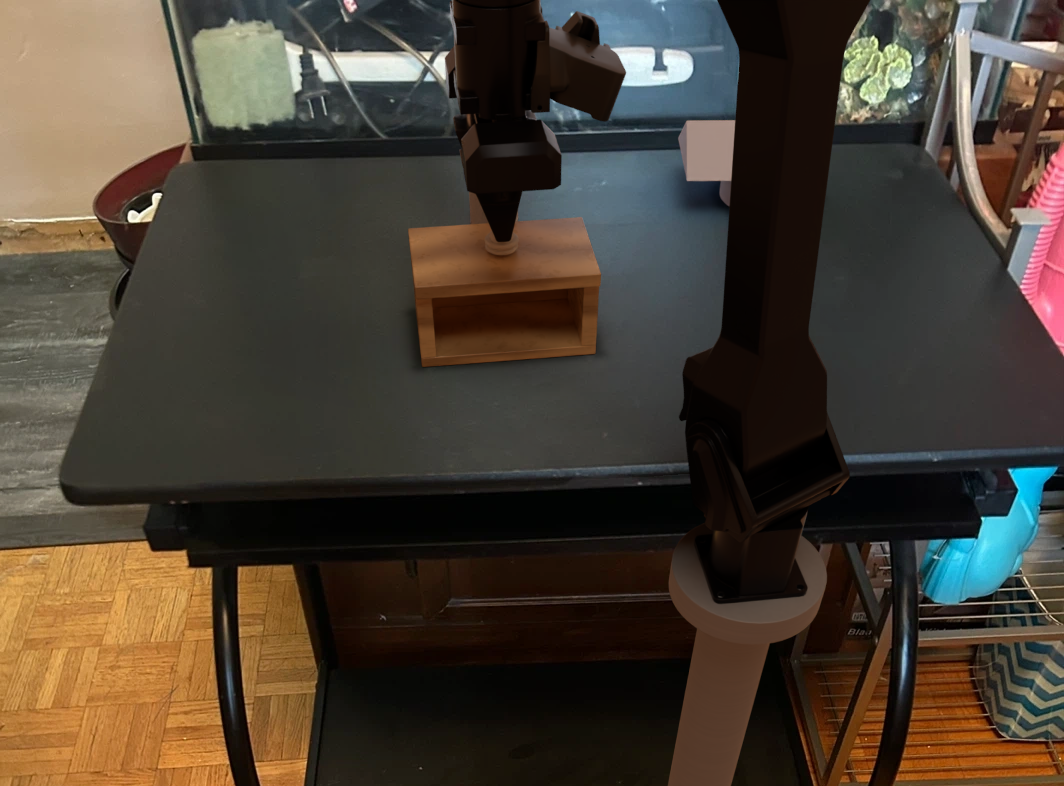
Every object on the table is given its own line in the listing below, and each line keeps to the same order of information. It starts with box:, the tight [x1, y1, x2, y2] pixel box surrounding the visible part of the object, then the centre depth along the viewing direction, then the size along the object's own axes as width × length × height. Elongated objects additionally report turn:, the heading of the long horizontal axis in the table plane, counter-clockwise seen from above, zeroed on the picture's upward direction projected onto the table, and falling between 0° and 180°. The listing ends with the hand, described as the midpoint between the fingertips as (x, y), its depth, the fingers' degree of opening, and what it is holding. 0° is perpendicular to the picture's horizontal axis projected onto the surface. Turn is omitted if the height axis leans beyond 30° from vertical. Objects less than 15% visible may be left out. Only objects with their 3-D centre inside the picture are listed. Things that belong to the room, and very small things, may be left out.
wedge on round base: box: [677, 119, 735, 208], centre depth 96 cm, size 9×7×13 cm
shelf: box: [407, 216, 602, 368], centre depth 82 cm, size 9×14×7 cm, turn 97°
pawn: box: [485, 230, 519, 255], centre depth 77 cm, size 3×3×4 cm
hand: (502, 234), depth 78 cm, fingers closed on pawn, 2 cm apart
